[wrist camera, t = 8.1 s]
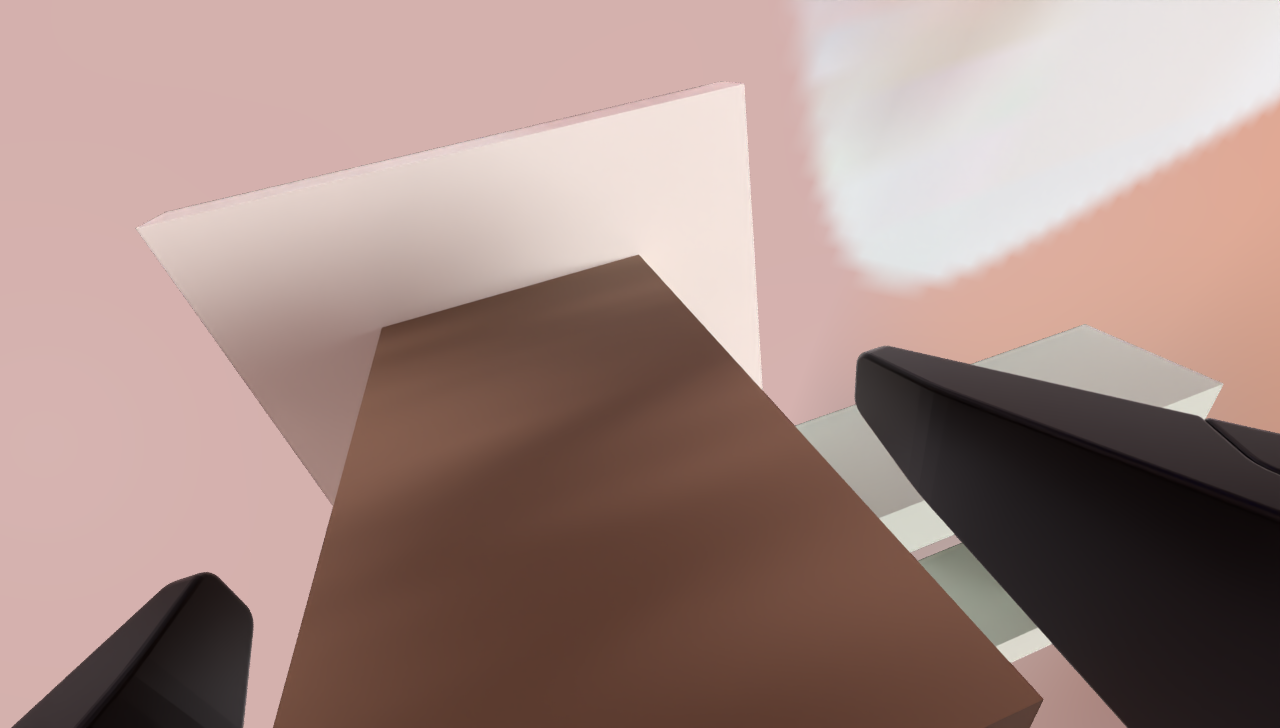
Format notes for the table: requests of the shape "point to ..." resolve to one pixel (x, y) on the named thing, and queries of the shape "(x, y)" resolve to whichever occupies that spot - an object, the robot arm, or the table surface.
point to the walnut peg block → (613, 542)
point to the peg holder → (893, 499)
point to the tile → (464, 247)
